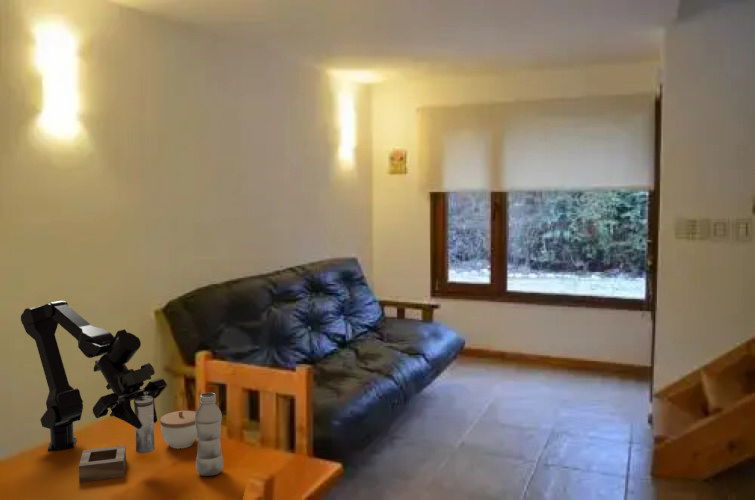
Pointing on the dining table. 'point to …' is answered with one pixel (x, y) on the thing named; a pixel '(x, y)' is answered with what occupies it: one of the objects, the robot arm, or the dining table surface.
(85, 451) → the socket block
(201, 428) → the plastic bottle
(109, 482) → the dining table surface
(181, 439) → the lidded jar
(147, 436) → the silver metal can
